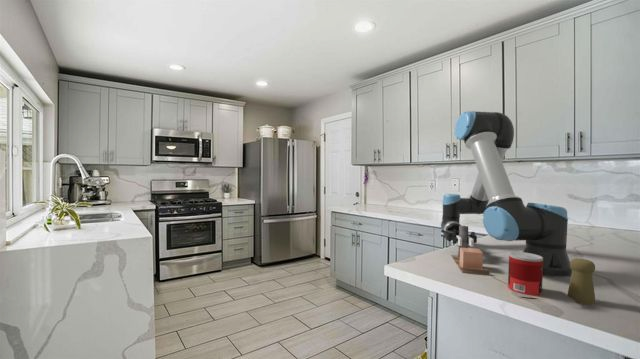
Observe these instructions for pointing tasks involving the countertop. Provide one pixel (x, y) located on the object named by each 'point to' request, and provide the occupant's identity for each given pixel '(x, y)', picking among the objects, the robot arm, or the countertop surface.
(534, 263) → the canned food
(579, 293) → the cork
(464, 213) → the robot arm
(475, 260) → the terracotta block
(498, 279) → the countertop surface
